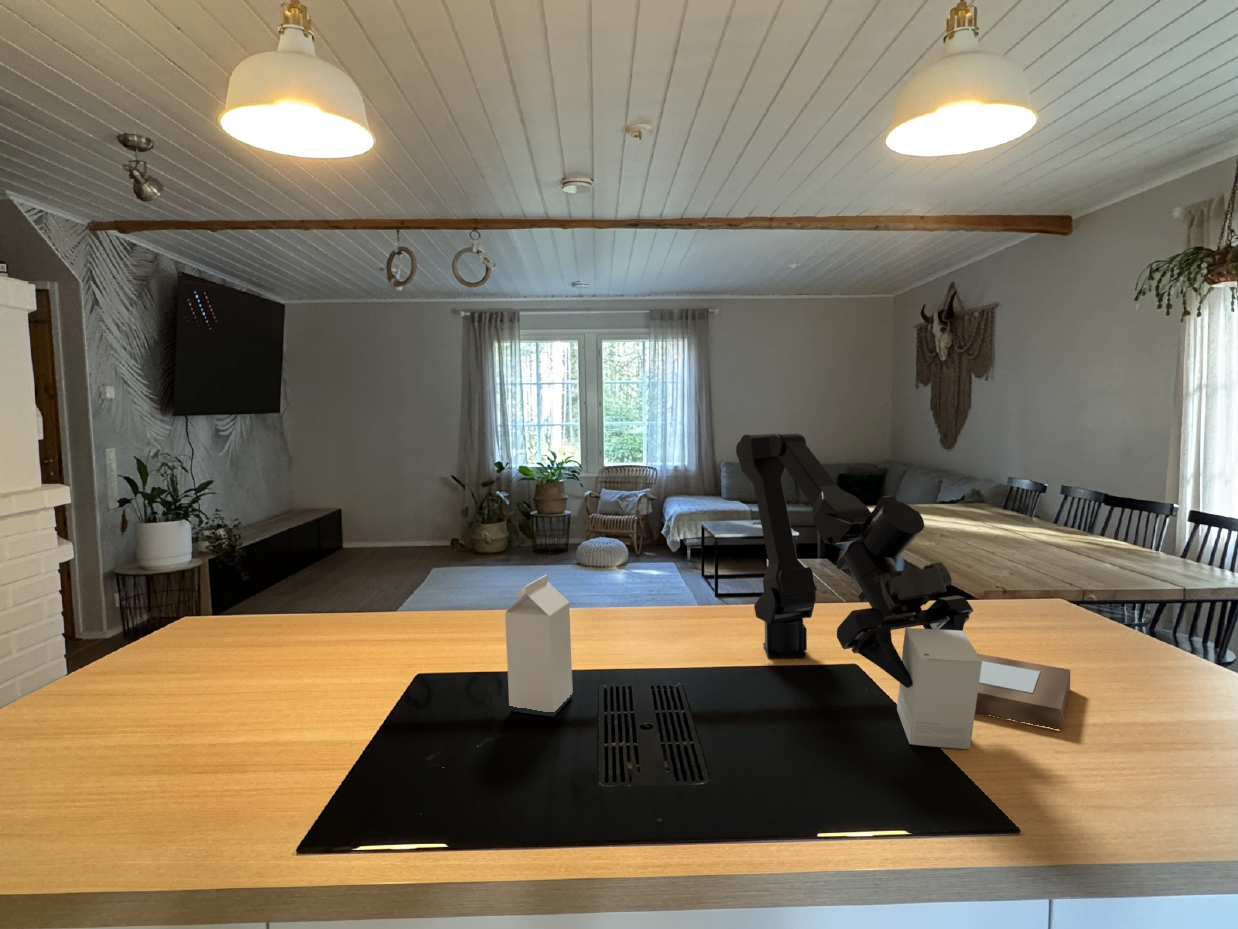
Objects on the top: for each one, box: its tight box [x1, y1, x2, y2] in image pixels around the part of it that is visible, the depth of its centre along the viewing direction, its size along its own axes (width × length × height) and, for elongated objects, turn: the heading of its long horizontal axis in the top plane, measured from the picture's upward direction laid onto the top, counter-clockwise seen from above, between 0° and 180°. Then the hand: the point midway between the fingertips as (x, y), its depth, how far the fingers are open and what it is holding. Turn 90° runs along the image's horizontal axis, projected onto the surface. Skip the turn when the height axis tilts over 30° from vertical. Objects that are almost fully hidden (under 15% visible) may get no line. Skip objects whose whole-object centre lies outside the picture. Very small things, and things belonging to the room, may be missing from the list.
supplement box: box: [896, 627, 982, 750], centre depth 85 cm, size 7×7×13 cm
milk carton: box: [504, 574, 574, 712], centre depth 99 cm, size 7×7×19 cm
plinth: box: [975, 653, 1071, 731], centre depth 98 cm, size 16×16×3 cm
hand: (939, 680), depth 85 cm, fingers closed on supplement box, 9 cm apart
